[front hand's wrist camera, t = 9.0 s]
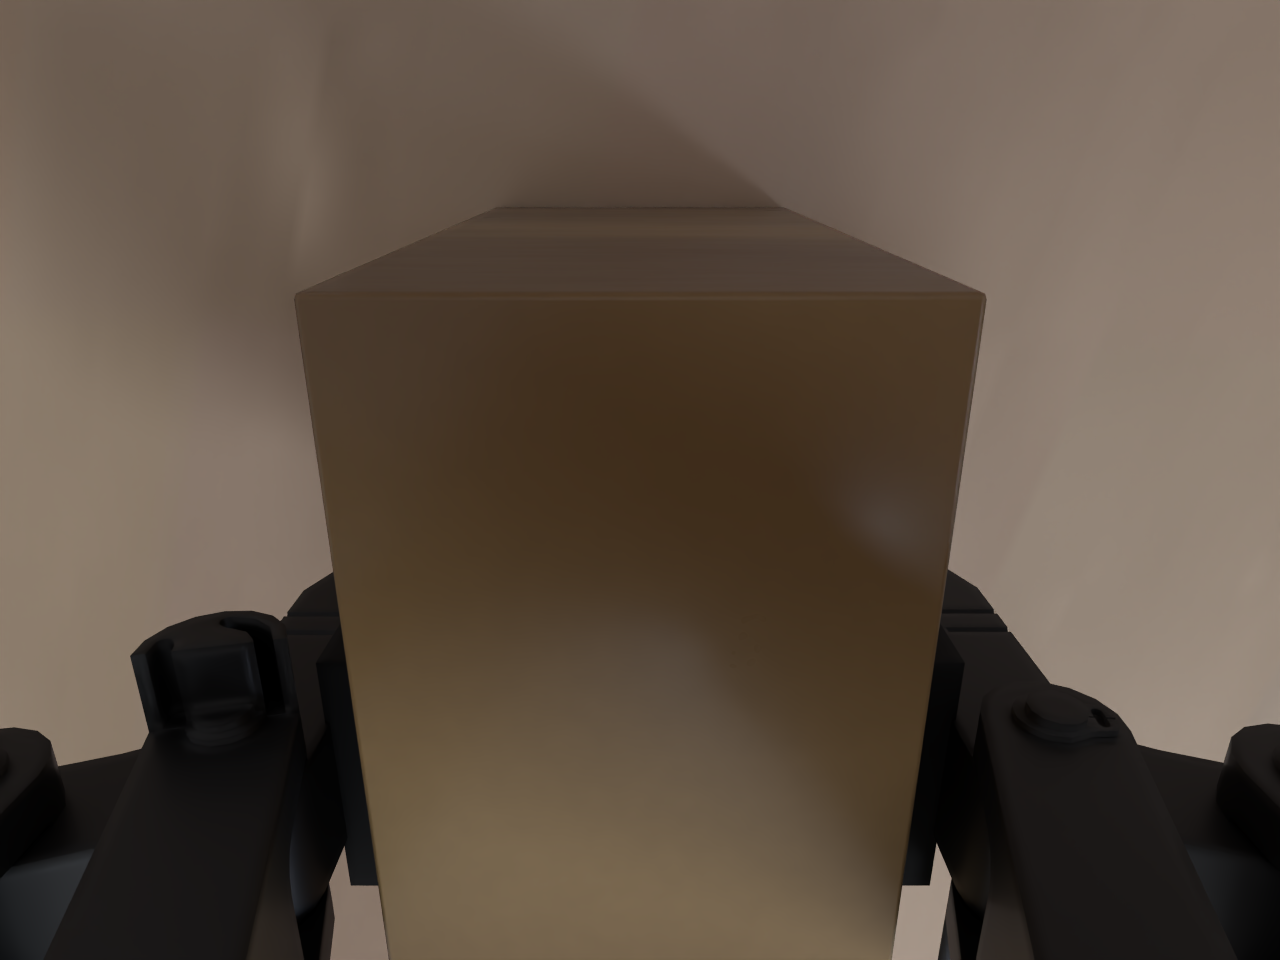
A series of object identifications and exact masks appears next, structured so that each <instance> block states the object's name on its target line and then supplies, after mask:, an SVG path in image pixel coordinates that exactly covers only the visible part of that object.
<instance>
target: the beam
mask: <svg viewBox="0 0 1280 960" xmlns="http://www.w3.org/2000/svg"><path fill="white" fill-rule="evenodd" d="M294 301H295V308H296V315H297V322H298V329H299V336H300V343H301V350H302V357H303V364H304V371H305V378H306V385H307V392H308V399H309V406H310V413H311V420H312V427H313V434H314V441H315V447H316V454H317V461H318V468H319V475H320V482H321V489H322V496H323V503H324V510H325V517H326V524H327V531H328V538H329V545H330V552H331V559H332V566H333V573H334V580H335V587H336V594H337V601H338V608H339V615H340V622H341V629H342V636H343V643H344V650H345V657H346V664H347V670H348V677H349V684H350V691H351V698H352V705H353V712H354V719H355V726H356V733H357V740H358V747H359V754H360V761H361V768H362V775H363V782H364V789H365V796H366V803H367V810H368V817H369V824H370V831H371V838H372V845H373V852H374V859H375V866H376V873H377V880H378V886H379V893H380V900H381V907H382V914H383V921H384V928H385V935H386V942H387V949H388V956H389V960H892V953H893V946H894V939H895V932H896V925H897V918H898V911H899V904H900V897H901V890H902V883H903V876H904V869H905V862H906V856H907V849H908V842H909V835H910V828H911V821H912V814H913V807H914V800H915V793H916V786H917V779H918V772H919V765H920V758H921V751H922V744H923V737H924V730H925V723H926V717H927V710H928V703H929V696H930V689H931V682H932V675H933V668H934V661H935V654H936V647H937V640H938V633H939V626H940V619H941V612H942V605H943V598H944V591H945V584H946V578H947V571H948V564H949V557H950V550H951V543H952V536H953V529H954V522H955V515H956V508H957V501H958V494H959V487H960V480H961V473H962V466H963V459H964V452H965V445H966V439H967V432H968V425H969V418H970V411H971V404H972V397H973V390H974V383H975V376H976V369H977V362H978V355H979V348H980V341H981V334H982V327H983V320H984V313H985V306H986V296H985V294H984V293H982V292H980V291H977V290H975V289H973V288H970V287H968V286H966V285H963V284H961V283H959V282H956V281H954V280H952V279H949V278H947V277H945V276H942V275H940V274H938V273H935V272H933V271H931V270H928V269H926V268H924V267H921V266H919V265H917V264H914V263H912V262H910V261H907V260H905V259H903V258H900V257H898V256H896V255H893V254H891V253H889V252H886V251H884V250H882V249H879V248H877V247H875V246H872V245H870V244H868V243H865V242H863V241H861V240H858V239H856V238H854V237H851V236H849V235H847V234H844V233H842V232H840V231H837V230H835V229H833V228H830V227H828V226H826V225H823V224H821V223H819V222H816V221H814V220H812V219H809V218H807V217H805V216H802V215H800V214H798V213H795V212H793V211H791V210H788V209H786V208H494V209H492V210H490V211H487V212H485V213H483V214H480V215H478V216H476V217H473V218H471V219H469V220H466V221H464V222H462V223H459V224H457V225H455V226H452V227H450V228H448V229H445V230H443V231H441V232H438V233H436V234H434V235H431V236H429V237H427V238H425V239H422V240H420V241H418V242H415V243H413V244H411V245H408V246H406V247H404V248H401V249H399V250H397V251H394V252H392V253H390V254H387V255H385V256H383V257H380V258H378V259H376V260H373V261H371V262H369V263H366V264H364V265H362V266H359V267H357V268H355V269H352V270H350V271H348V272H345V273H343V274H341V275H338V276H336V277H334V278H331V279H329V280H327V281H324V282H322V283H320V284H317V285H315V286H313V287H310V288H308V289H306V290H303V291H301V292H299V293H296V295H295V299H294Z"/></svg>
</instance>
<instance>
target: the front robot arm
mask: <svg viewBox="0 0 1280 960" xmlns="http://www.w3.org/2000/svg"><path fill="white" fill-rule="evenodd" d="M287 614H288V615H287V617H283V619H282V620H281V621H279V620H278V619H277V618H275V617H274V616H272V615H268V614H264V613H259V612H255V611H224V612H219V613H214V614H208V615H203V616H198V617H194V618H191V619H189V620H186V621H183V622H180V623H177V624H175V625H172V626H169V627H167V628H165V629H164V630H162V631H160V632H158V633H157V634H155V635H153V636H152V637H150V638H148V639H147V640H145V641H144V642H143V643H142V644H141V645H140V646H139V647H138V648H137V649H136V650H135V651H134V653H133V654H132V655H131V656H130V657H131V661H132V665H133V669H134V673H135V677H136V681H137V685H138V689H139V693H140V697H141V701H142V705H143V709H144V713H145V717H146V721H147V725H148V729H149V734H148V736H147V738H146V740H145V742H144V745H143V747H142V749H139V750H135V751H131V752H127V753H123V754H119V755H114V756H109V757H103V758H98V759H93V760H88V761H83V762H78V763H73V764H68V765H63V766H58V765H57V761H56V758H55V755H54V751H53V748H52V745H51V741H50V740H49V739H47V738H46V737H45V736H43V735H42V734H41V733H39V732H38V731H35V730H28V729H21V728H15V727H13V728H4V729H0V960H330V955H331V947H332V938H333V929H334V920H335V917H334V910H333V903H332V897H331V891H330V885H329V881H330V879H331V876H332V874H333V872H334V869H335V867H336V864H337V862H338V860H339V857H340V855H341V853H342V850H343V848H344V845H345V851H346V857H347V864H348V870H349V876H350V883H351V885H378V880H377V873H376V866H375V859H374V852H373V845H372V838H371V831H370V824H369V817H368V810H367V803H366V796H365V789H364V782H363V775H362V768H361V761H360V754H359V747H358V740H357V733H356V726H355V719H354V712H353V705H352V698H351V691H350V684H349V677H348V670H347V664H346V657H345V650H344V643H343V636H342V629H341V622H340V615H339V608H338V601H337V594H336V587H335V580H334V573H331V574H329V575H328V576H326V577H325V578H323V579H321V580H320V581H318V582H317V583H315V584H313V585H312V586H310V587H309V588H307V589H306V590H304V591H303V592H302V594H301V595H300V596H299V598H298V599H297V600H296V602H295V603H294V604H293V606H292V607H291V608H290V610H289V611H288V612H287ZM936 842H937V845H938V847H939V849H940V852H941V854H942V856H943V859H944V861H945V863H946V866H947V868H948V870H949V873H950V875H951V877H952V880H951V885H950V891H949V897H948V903H947V909H946V915H945V921H944V926H943V932H942V938H941V944H940V950H939V956H938V960H1280V725H1276V724H1262V725H1255V726H1249V727H1244V728H1243V729H1241V730H1240V731H1239V732H1237V733H1236V734H1235V735H1234V736H1232V737H1231V740H1230V744H1229V747H1228V750H1227V754H1226V757H1225V760H1224V763H1222V762H1216V761H1211V760H1206V759H1201V758H1196V757H1191V756H1186V755H1181V754H1176V753H1171V752H1166V751H1161V750H1157V749H1153V748H1149V747H1145V746H1141V745H1137V743H1136V741H1135V739H1134V737H1133V734H1132V732H1131V731H1130V729H1129V728H1128V727H1127V726H1126V724H1125V723H1124V722H1123V720H1122V719H1121V718H1120V717H1119V715H1118V714H1117V713H1115V712H1114V711H1112V710H1111V709H1109V708H1108V707H1106V706H1105V705H1103V704H1102V703H1101V702H1099V701H1098V700H1096V699H1094V698H1092V697H1089V696H1087V695H1085V694H1082V693H1080V692H1077V691H1075V690H1073V689H1070V688H1067V687H1062V686H1058V685H1053V684H1050V683H1049V681H1048V680H1047V679H1046V677H1045V676H1044V675H1043V673H1042V672H1041V671H1040V669H1039V668H1038V667H1037V666H1036V664H1035V663H1034V662H1033V660H1032V659H1031V658H1030V656H1029V655H1028V654H1027V652H1026V651H1025V650H1024V648H1023V647H1022V646H1021V645H1020V643H1019V642H1018V641H1017V639H1016V638H1015V637H1014V635H1013V634H1012V633H1011V632H1008V631H1007V626H1006V625H1005V624H1004V622H1003V621H1002V620H1001V618H1000V617H999V616H998V614H994V609H993V608H992V606H991V605H990V604H989V603H988V601H987V600H986V599H985V597H984V596H983V595H982V593H981V592H980V591H979V589H978V588H977V587H975V586H974V585H972V584H970V583H969V582H967V581H966V580H964V579H962V578H961V577H959V576H958V575H956V574H954V573H953V572H951V571H950V570H948V571H947V578H946V584H945V591H944V598H943V605H942V612H941V619H940V626H939V633H938V640H937V647H936V654H935V661H934V668H933V675H932V682H931V689H930V696H929V703H928V710H927V717H926V723H925V730H924V737H923V744H922V751H921V758H920V765H919V772H918V779H917V786H916V793H915V800H914V807H913V814H912V821H911V828H910V835H909V842H908V849H907V856H906V862H905V869H904V876H903V883H902V885H930V880H931V874H932V867H933V861H934V855H935V848H936Z"/></svg>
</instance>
